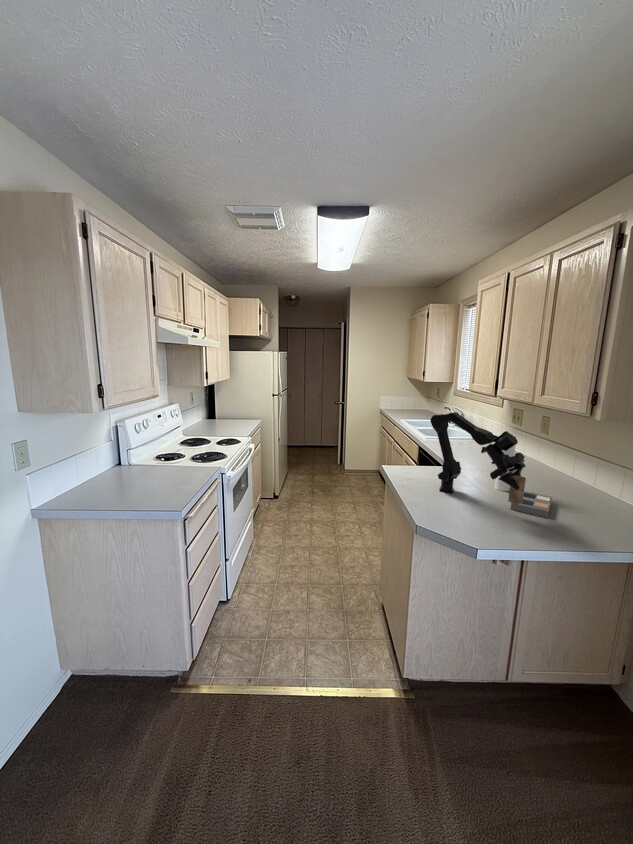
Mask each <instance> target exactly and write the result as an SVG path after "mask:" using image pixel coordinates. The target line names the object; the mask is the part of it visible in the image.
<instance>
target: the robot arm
mask: <svg viewBox="0 0 633 844" xmlns="http://www.w3.org/2000/svg"><path fill="white" fill-rule="evenodd" d="M449 422H450V423H451V422H452V423H454V424H455V425H457V426H458V427H459V428H461V429H462V430H463V431H465V432H466V433H468V434H469V435H470V436H471V438H472V440H473V441H474V442H475V443H476V444H478V445H479V446H482V447H481V451H480V453H481V454H485V453H487V455H488V456H489V458H490V459H491V465H495V467H496V469H494V470H493V471H491V472H490V473H489V477H490V479H492V480H496V478H497V477H498V476H500V478H499V480H501V481H503V482H505V483H507V484H508V485H510V486H511V487H513V488H515V489H516V490H517V489H519V487H518V485H517V484H516V482H515V480H514V479H513V477H512V476H515V475H518V476H521V477H522V475H521V474H522V470H523V469H524V468H526V464H525V463H524V462H525V458H526V456H525V455H524V454H523V452H522V451H521V452H515V455H514V456H512V457H510V456H509V455H505V454H504V452H503V451H502V450H504V451H507V450H508V449H510V448H511V447H513V446H514V445H517V444H518V443H519V441H518V439H517V437H516V436H514V434H512V433H510V432H509V431H507V430H505V431H502V433H501V434H499V436H498V435H494V433H493V432H491V431H489V430H487V429H485V428H482V427H478V426H476V425H475V424H474V423H473V422H471V421H469V420H468V419H466V418H465V417H463V415H460V413H459V412H457V411H456V412H455V411H454V412H453V411H452V412H449V413H439V414H434V415H432V416H431V418H430V423H431V427H432V428H433V430H434V431H435V432H436V434H437V438H438V443H439V448H440V451H441V454H442V459H443V463H442V467H441V468H442V471H441V472H439V473H438V474H437V477H438V480H440V481H441V483H440V487H439V492H442V493H448V492H449V493H450V494H454V490H455V488H454V479H455V480H456V479H457V478H458V476H460V474H461V473H462V472H461V471H462V467H461V462H460V461H457V460H456V459H455V457H454V452H453V450H452V445H451V442H450V438H449V434H448V429H449ZM492 443H493V444H492ZM485 445H487V446H485ZM497 468H498V469H497Z"/></svg>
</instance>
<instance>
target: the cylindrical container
mask: <svg viewBox="0 0 633 844" xmlns="http://www.w3.org/2000/svg"><path fill="white" fill-rule="evenodd" d="M516 445H517V444H516ZM516 445H514V446H513V447H511V448H510V449H508V450H507V451H504V450H502V451H503V452H504V454H505V455H509V456H510V457H512V456H515V453H516V447H517V446H516ZM496 469H498V468H497V467H496ZM499 478H500V476H498V477H497V478H496V479H494V480H495V481H494V489H495V490H496V491H502V492H509V490H510V485H508V484H507V483H505V482H503V481H501V480H499Z"/></svg>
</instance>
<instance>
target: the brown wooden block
mask: <svg viewBox="0 0 633 844" xmlns="http://www.w3.org/2000/svg"><path fill="white" fill-rule="evenodd" d="M512 477H513V479H514V480H515V482H516V484H517V485H518V487H519V489H517V490H516V489H515V488H513V487H511V486H510V490H509V491H508V499H507V500H508V501H507V502H509V503H511V502H512V503H515V504H520V503H523V496H524V491H525V488H526V479H527V478H526V477H525V476H522V475H521V476H518V475H515V476H512Z"/></svg>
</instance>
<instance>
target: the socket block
mask: <svg viewBox="0 0 633 844" xmlns="http://www.w3.org/2000/svg"><path fill="white" fill-rule="evenodd" d="M552 499H553V497H552V496H548V495H544V494H539V493H534V492H529V491H525V490H524V496H523V503H520V504H515V503H512V502H510V510H512V511H516V512H521V513H525V514H529V515H534V516H538V517H542V518H546V519H548V518H549V513H550V509H551V504H552Z"/></svg>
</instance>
